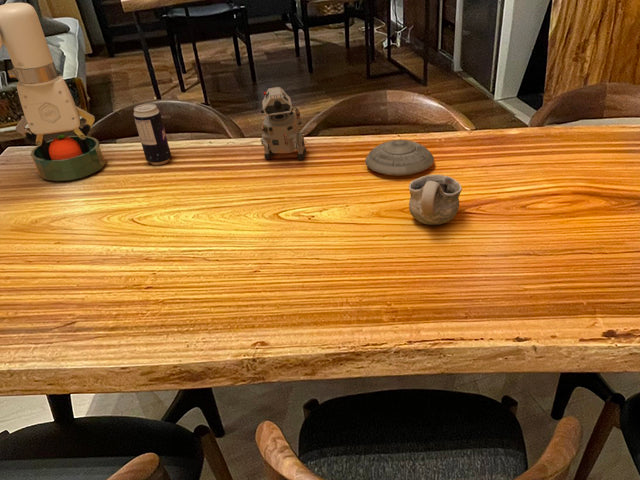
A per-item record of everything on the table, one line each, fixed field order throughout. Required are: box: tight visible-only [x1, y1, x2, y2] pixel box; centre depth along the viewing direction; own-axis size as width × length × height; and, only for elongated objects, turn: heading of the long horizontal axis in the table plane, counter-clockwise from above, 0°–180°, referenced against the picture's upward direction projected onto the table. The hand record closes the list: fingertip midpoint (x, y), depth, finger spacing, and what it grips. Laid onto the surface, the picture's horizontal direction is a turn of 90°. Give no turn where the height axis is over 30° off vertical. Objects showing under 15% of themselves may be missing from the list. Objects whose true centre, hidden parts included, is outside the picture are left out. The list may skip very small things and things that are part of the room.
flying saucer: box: [364, 139, 435, 177], centre depth 135 cm, size 15×15×6 cm
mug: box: [408, 174, 463, 226], centre depth 113 cm, size 10×12×10 cm
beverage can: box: [133, 103, 172, 166], centre depth 139 cm, size 6×6×12 cm
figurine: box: [259, 86, 307, 161], centre depth 136 cm, size 9×12×15 cm
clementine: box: [49, 134, 83, 160], centre depth 138 cm, size 8×7×7 cm
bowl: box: [30, 135, 106, 182], centre depth 139 cm, size 14×14×5 cm
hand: (68, 157), depth 139 cm, fingers closed on clementine, 7 cm apart
